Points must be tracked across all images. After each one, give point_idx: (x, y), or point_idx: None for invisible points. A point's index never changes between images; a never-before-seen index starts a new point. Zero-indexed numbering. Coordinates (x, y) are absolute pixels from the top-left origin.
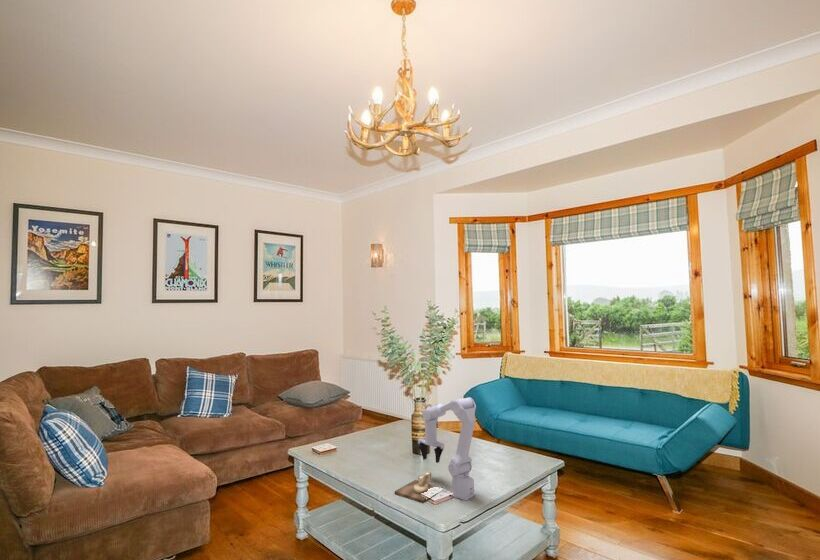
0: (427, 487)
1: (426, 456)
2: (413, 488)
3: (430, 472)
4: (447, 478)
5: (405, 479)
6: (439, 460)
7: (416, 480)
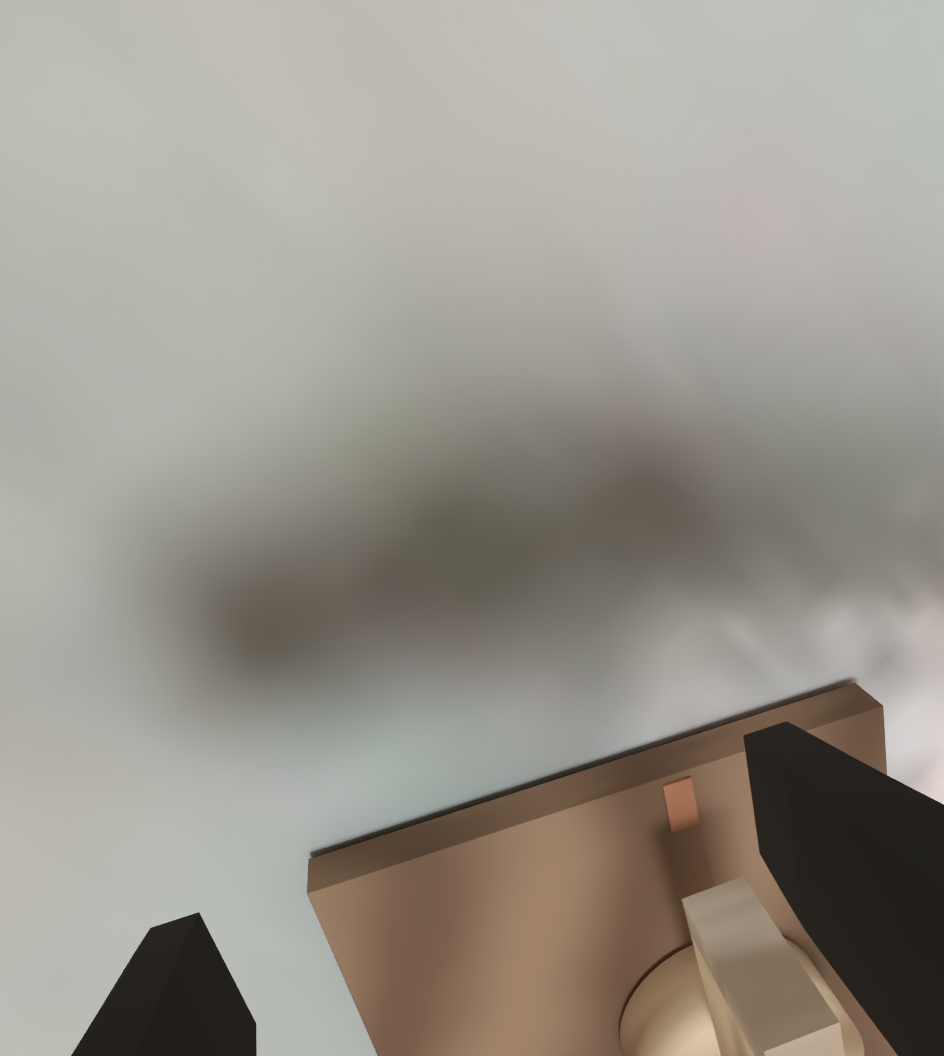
0: (854, 1026)
1: (185, 988)
2: (571, 1049)
3: (832, 1038)
4: (570, 253)
5: (75, 917)
6: (824, 745)
7: (352, 892)
